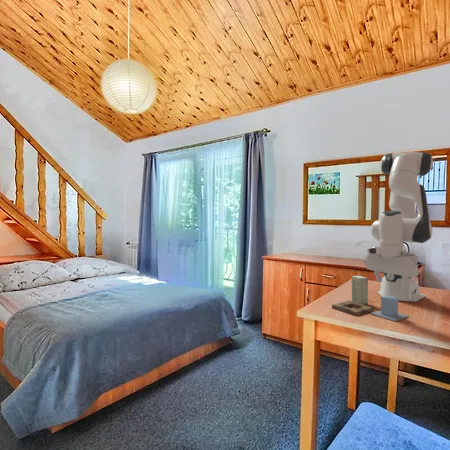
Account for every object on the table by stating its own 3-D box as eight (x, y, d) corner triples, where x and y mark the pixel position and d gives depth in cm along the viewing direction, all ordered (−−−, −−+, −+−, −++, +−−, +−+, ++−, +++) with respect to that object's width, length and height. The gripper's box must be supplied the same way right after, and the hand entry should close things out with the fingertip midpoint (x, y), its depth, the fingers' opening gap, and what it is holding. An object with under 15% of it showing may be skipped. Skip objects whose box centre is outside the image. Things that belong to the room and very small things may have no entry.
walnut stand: (349, 303, 143) (349, 300, 143) (373, 311, 133) (373, 307, 133) (332, 308, 137) (332, 304, 137) (355, 315, 127) (356, 312, 127)
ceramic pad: (384, 310, 134) (384, 309, 134) (408, 317, 125) (408, 315, 125) (370, 314, 129) (370, 312, 129) (394, 321, 120) (394, 320, 120)
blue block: (387, 311, 130) (387, 295, 130) (397, 314, 126) (398, 297, 126) (380, 313, 128) (381, 296, 127) (391, 316, 124) (392, 299, 124)
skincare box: (368, 304, 143) (368, 278, 143) (360, 304, 142) (360, 278, 141) (358, 300, 149) (359, 275, 149) (350, 301, 148) (351, 275, 148)
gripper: (421, 253, 119) (421, 288, 120) (372, 247, 136) (372, 278, 137) (413, 254, 116) (412, 291, 117) (363, 248, 133) (363, 280, 134)
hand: (390, 284), depth 127 cm, fingers open, 8 cm apart
